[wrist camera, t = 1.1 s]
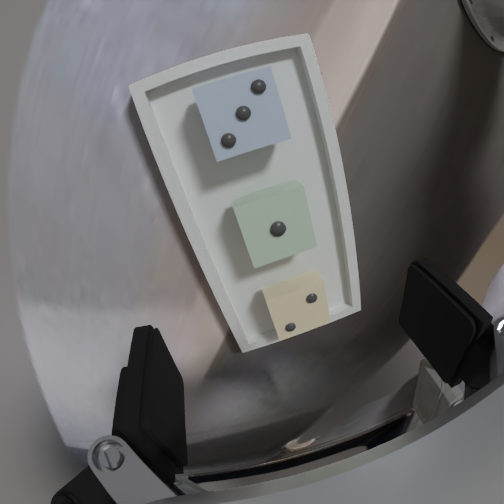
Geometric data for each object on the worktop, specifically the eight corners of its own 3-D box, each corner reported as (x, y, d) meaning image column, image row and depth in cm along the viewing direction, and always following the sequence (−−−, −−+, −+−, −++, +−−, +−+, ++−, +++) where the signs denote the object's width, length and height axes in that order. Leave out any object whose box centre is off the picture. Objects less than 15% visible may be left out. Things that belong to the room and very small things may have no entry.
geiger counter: (452, 440, 41) (485, 388, 29) (428, 456, 41) (454, 412, 29) (426, 397, 53) (441, 332, 41) (403, 410, 54) (412, 350, 41)
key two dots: (316, 269, 27) (324, 281, 26) (324, 309, 30) (331, 323, 28) (261, 288, 27) (266, 302, 26) (275, 327, 30) (280, 341, 28)
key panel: (300, 38, 19) (308, 33, 17) (353, 299, 33) (361, 310, 31) (133, 87, 19) (128, 85, 17) (240, 340, 33) (242, 352, 31)
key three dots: (264, 69, 19) (270, 66, 17) (284, 135, 21) (292, 139, 19) (192, 90, 19) (191, 88, 17) (215, 157, 21) (217, 162, 19)
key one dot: (295, 178, 23) (304, 185, 21) (309, 236, 26) (317, 247, 24) (230, 199, 23) (233, 208, 21) (250, 256, 26) (254, 269, 24)
